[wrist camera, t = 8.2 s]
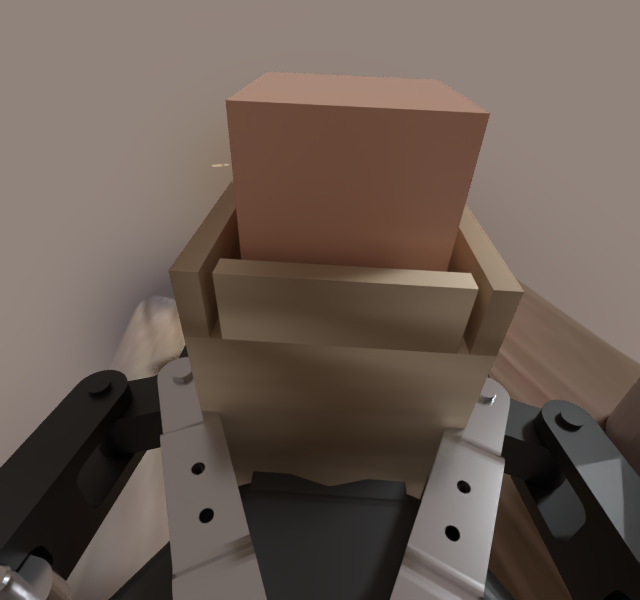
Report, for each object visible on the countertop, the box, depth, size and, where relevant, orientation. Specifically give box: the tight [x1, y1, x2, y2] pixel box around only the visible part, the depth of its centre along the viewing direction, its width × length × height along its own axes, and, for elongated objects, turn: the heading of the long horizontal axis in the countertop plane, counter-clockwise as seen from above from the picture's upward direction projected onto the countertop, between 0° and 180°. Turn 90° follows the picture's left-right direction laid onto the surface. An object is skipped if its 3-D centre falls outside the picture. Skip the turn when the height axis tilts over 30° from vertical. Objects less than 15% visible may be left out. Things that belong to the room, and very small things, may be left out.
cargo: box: [226, 72, 490, 272], centre depth 9 cm, size 4×4×4 cm
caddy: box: [169, 180, 524, 499], centre depth 12 cm, size 6×6×12 cm
